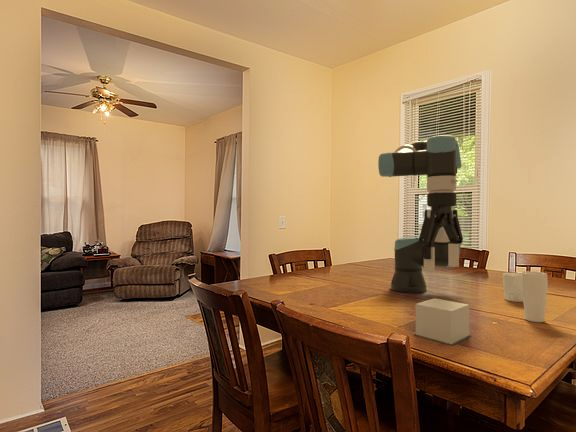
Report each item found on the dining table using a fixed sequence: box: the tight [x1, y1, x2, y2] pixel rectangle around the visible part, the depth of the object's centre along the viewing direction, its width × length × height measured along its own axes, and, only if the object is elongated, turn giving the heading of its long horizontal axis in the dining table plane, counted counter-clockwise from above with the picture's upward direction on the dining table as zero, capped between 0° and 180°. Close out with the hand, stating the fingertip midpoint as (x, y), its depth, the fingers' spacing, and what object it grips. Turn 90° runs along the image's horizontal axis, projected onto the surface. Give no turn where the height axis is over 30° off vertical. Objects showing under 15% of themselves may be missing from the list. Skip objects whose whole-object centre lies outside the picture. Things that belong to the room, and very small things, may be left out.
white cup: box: [502, 272, 523, 303], centre depth 143 cm, size 8×8×10 cm
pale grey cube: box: [415, 297, 470, 344], centre depth 103 cm, size 10×10×9 cm
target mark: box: [413, 333, 472, 346], centre depth 103 cm, size 11×11×1 cm
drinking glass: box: [521, 270, 548, 323], centre depth 116 cm, size 7×7×15 cm
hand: (441, 268), depth 103 cm, fingers open, 13 cm apart
